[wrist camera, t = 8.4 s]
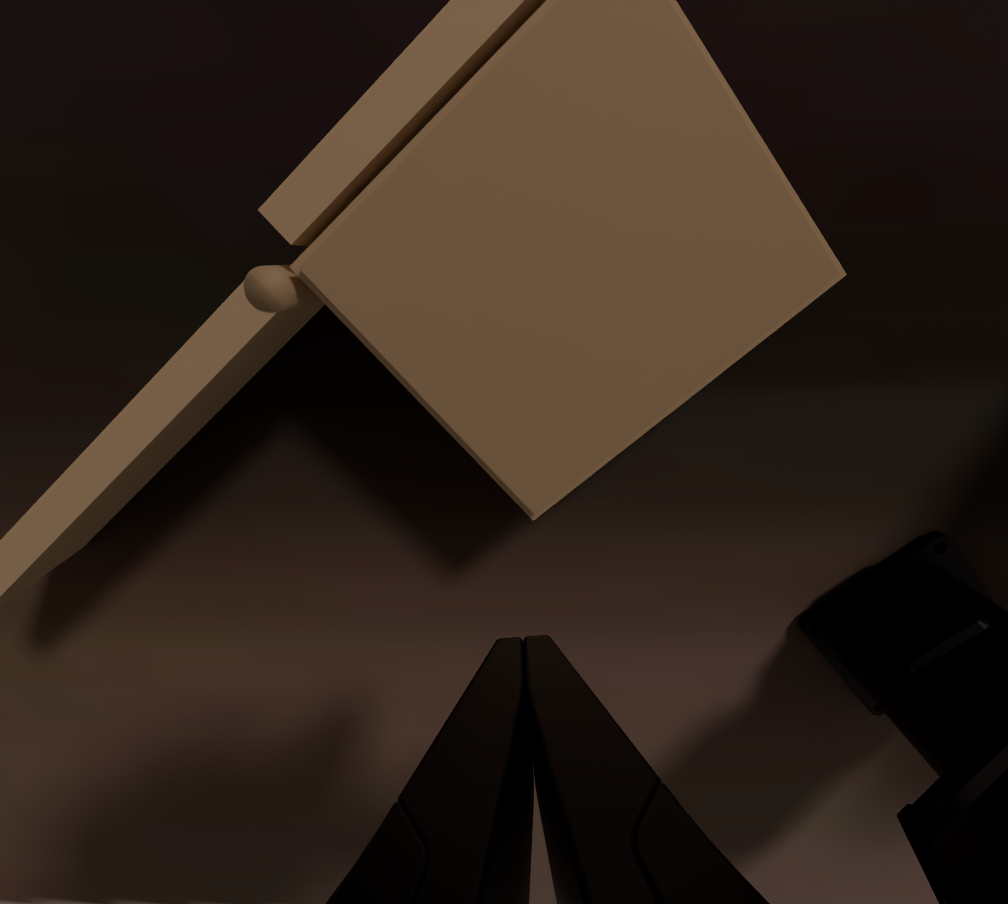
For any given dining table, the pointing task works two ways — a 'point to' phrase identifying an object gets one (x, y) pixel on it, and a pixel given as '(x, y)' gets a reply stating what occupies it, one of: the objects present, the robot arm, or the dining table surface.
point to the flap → (158, 423)
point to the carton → (552, 230)
